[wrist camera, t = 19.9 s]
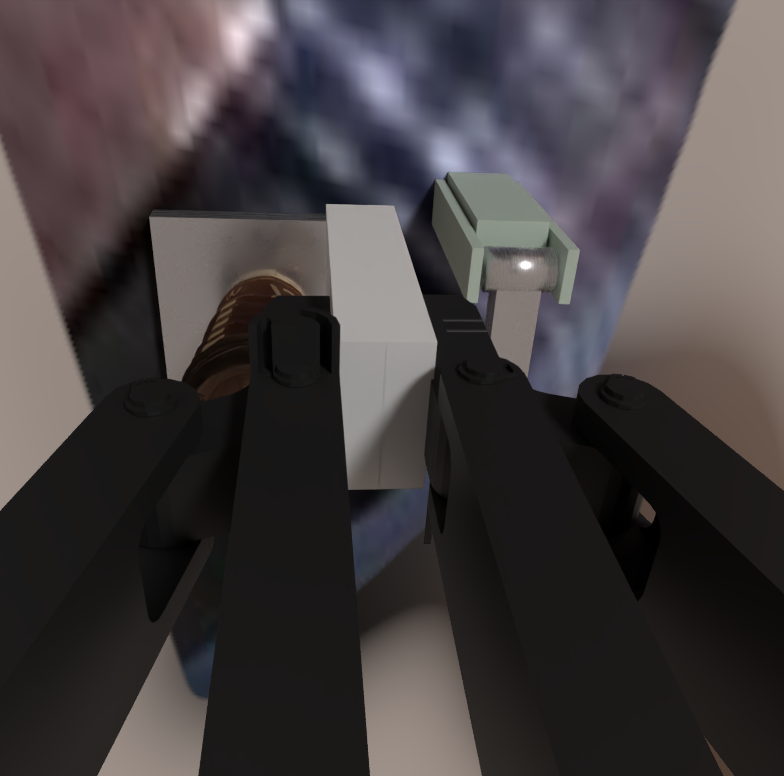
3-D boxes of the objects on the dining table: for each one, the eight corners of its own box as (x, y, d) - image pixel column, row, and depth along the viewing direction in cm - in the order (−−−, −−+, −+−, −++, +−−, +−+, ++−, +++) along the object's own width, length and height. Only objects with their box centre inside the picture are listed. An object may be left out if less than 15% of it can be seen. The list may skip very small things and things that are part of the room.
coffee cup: (290, 391, 54) (284, 507, 43) (182, 342, 51) (146, 452, 40) (349, 294, 50) (360, 392, 39) (237, 236, 48) (214, 324, 36)
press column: (436, 171, 48) (473, 238, 37) (519, 174, 49) (581, 240, 38) (431, 231, 50) (465, 311, 39) (511, 233, 51) (567, 312, 40)
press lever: (481, 237, 40) (493, 256, 37) (546, 239, 40) (562, 258, 38) (455, 462, 47) (463, 491, 44) (510, 461, 47) (522, 490, 45)
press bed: (153, 209, 48) (149, 216, 46) (370, 215, 49) (371, 222, 48) (173, 395, 55) (170, 406, 53) (362, 395, 56) (363, 405, 55)
